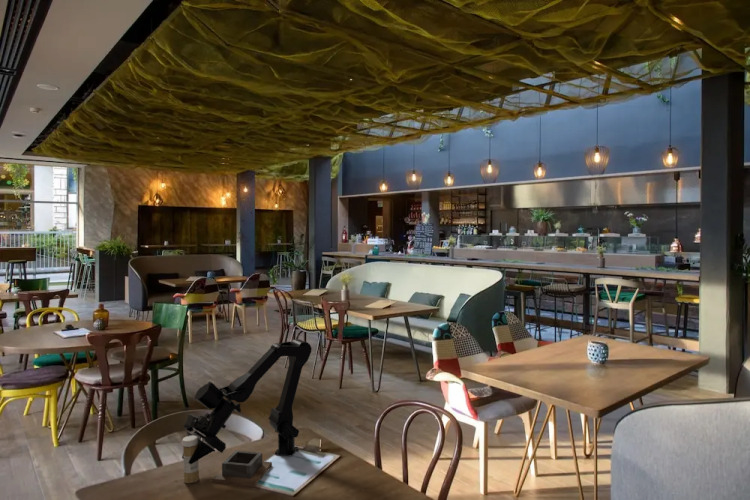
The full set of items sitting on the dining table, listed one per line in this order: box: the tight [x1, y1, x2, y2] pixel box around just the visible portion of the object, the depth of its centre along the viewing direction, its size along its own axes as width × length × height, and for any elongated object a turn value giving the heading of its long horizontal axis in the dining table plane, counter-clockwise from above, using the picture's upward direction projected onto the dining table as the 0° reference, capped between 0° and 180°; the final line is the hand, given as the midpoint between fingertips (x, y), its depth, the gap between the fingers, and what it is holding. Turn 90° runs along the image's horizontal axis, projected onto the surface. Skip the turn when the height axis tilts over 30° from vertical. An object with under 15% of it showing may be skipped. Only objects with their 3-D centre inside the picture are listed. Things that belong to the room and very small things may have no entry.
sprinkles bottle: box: [182, 435, 200, 484], centre depth 162 cm, size 5×5×14 cm
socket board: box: [211, 450, 273, 488], centre depth 166 cm, size 14×14×5 cm
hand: (186, 461), depth 161 cm, fingers closed on sprinkles bottle, 4 cm apart
